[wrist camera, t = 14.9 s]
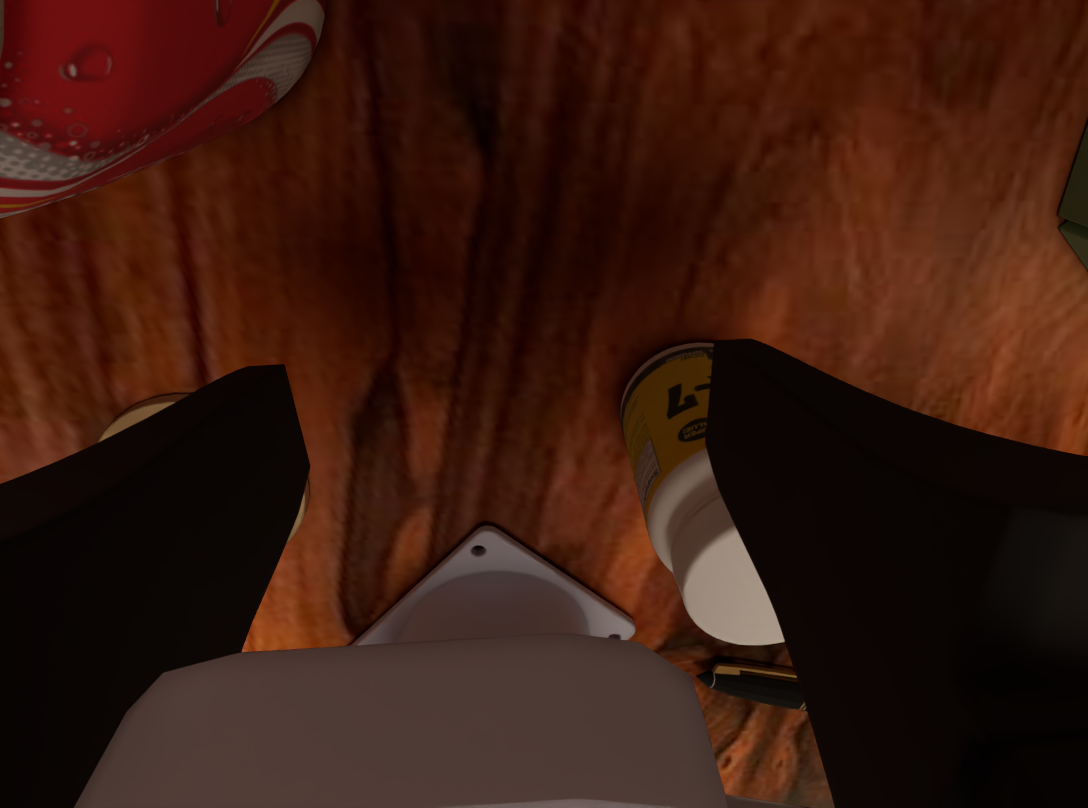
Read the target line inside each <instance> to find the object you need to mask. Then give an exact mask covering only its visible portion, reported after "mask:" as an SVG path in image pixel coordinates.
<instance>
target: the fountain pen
mask: <svg viewBox="0 0 1088 808" xmlns="http://www.w3.org/2000/svg"><path fill="white" fill-rule="evenodd" d="M740 670H742V671H740ZM745 671H750V672H745ZM753 672H757V673H753ZM761 673H764V674H761ZM769 674H772V675H769ZM775 675H779V676H775ZM781 676H787V677H794V678H796V679H792V678H787V677H781ZM696 677H697V678H699V679H700V680H701V681H702V682H703V683H704V684H705V685H706V686H707V687H709V688H712V689H714V690H717V691H720V692H723V693H726V694H728V695H731V696H736V697H740V698H744V699H748V700H752V701H756V702H760V703H765V704H770V705H775V706H780V707H785V708H791V709H796V710H801V711H807V708H806V705H805V702H804V699H803V696H802V692H801V689H800V686H799V683H798V680H797V676H796V673H795V672H793V671H786V670H779V669H772V668H764V667H757V666H750V665H743V664H727V663H717V664H716V665H715V666H714V668H713V669H712V670H708V671H706V672H704V673H701V674H699V675H697V676H696Z"/></svg>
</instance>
